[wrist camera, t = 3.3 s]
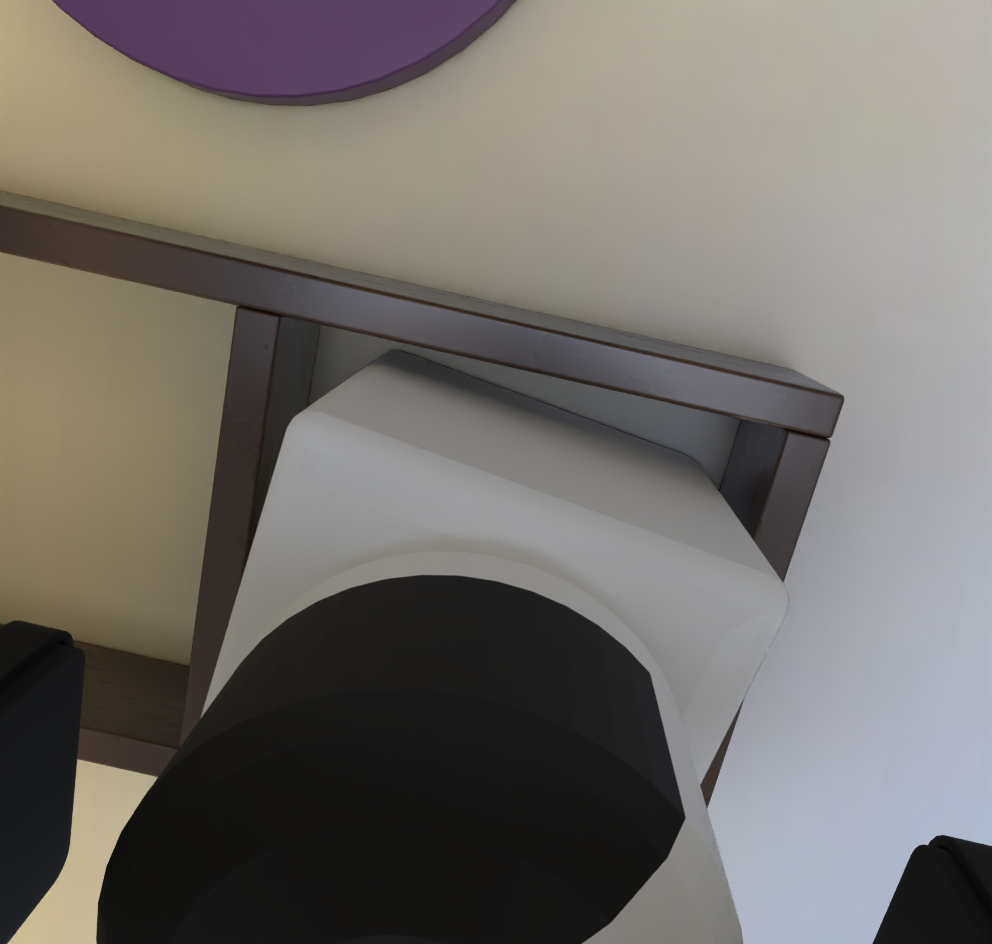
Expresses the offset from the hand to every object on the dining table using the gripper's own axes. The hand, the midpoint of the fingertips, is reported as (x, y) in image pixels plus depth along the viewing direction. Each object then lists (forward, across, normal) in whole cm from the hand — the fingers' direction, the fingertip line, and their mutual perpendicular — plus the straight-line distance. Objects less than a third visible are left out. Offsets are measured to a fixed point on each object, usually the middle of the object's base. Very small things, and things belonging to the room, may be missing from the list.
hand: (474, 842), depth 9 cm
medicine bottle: (+10, 0, 0) cm, 10 cm away
